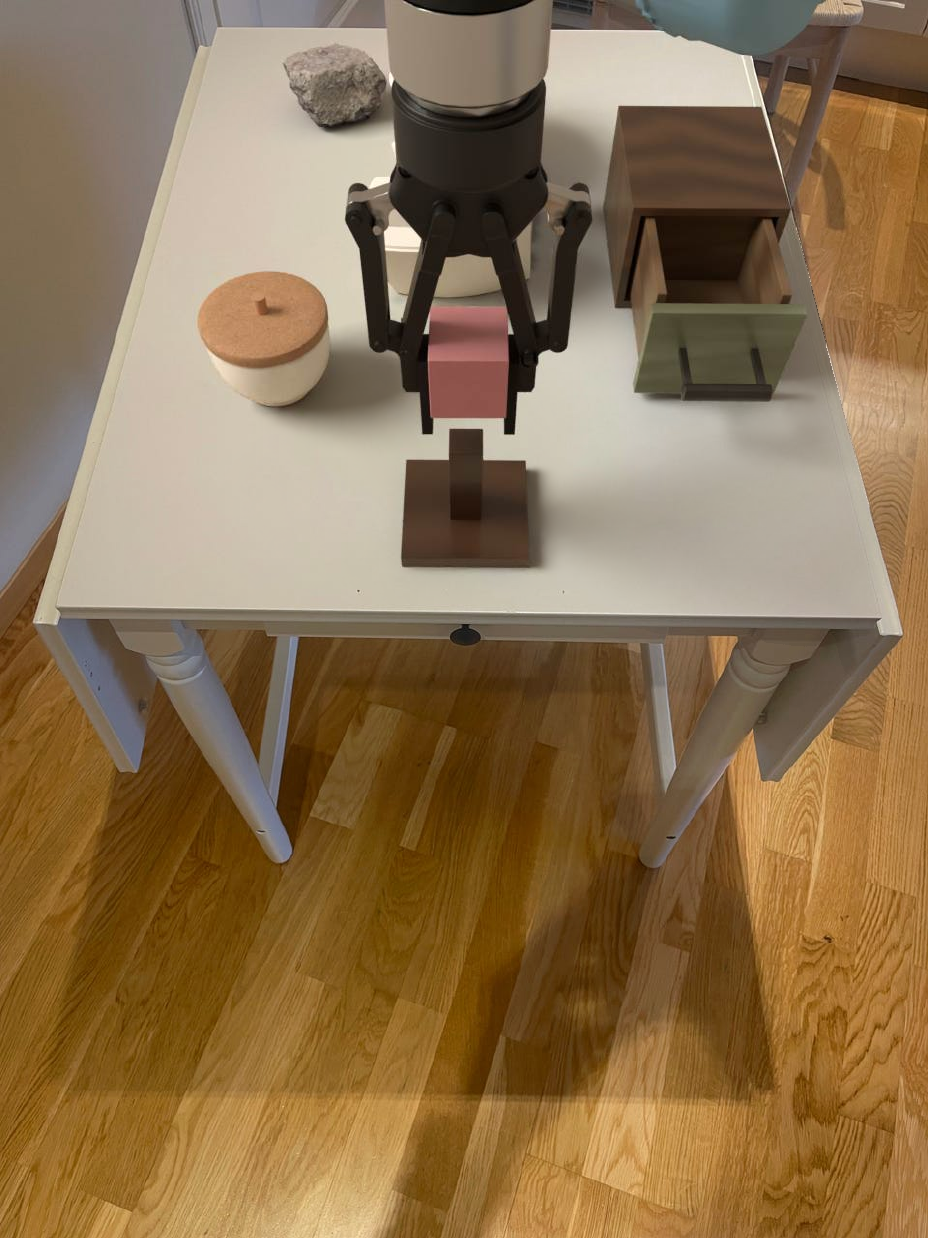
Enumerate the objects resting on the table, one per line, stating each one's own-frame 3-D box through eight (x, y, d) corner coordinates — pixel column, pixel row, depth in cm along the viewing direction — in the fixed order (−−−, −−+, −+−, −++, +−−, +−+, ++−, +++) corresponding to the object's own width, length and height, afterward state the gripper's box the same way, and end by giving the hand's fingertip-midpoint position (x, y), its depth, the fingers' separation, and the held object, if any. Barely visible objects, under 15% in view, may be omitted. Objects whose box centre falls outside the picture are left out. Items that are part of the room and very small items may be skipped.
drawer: (785, 441, 75) (821, 362, 67) (639, 440, 75) (659, 361, 67) (748, 284, 85) (776, 201, 77) (620, 283, 85) (635, 200, 77)
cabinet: (755, 308, 85) (791, 208, 75) (614, 307, 85) (633, 207, 75) (732, 207, 92) (761, 106, 83) (602, 207, 92) (618, 105, 83)
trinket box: (353, 406, 78) (341, 322, 70) (235, 440, 76) (208, 357, 68) (318, 328, 83) (303, 241, 75) (206, 358, 81) (178, 271, 73)
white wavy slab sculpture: (520, 339, 82) (528, 240, 73) (348, 322, 83) (334, 223, 74) (552, 127, 100) (561, 26, 91) (410, 115, 101) (404, 14, 92)
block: (506, 418, 58) (509, 360, 54) (430, 418, 58) (427, 360, 54) (504, 365, 61) (507, 305, 57) (432, 365, 61) (430, 305, 57)
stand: (528, 567, 69) (536, 495, 61) (401, 566, 69) (394, 494, 61) (525, 469, 74) (532, 391, 67) (406, 468, 74) (400, 390, 67)
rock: (391, 143, 102) (383, 72, 104) (389, 83, 94) (380, 8, 96) (293, 149, 101) (287, 77, 103) (282, 88, 93) (276, 12, 95)
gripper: (649, 34, 44) (592, 382, 64) (289, 35, 44) (345, 381, 64) (666, 119, 40) (600, 461, 60) (270, 119, 40) (336, 460, 60)
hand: (468, 419), depth 62 cm, fingers closed on block, 5 cm apart
